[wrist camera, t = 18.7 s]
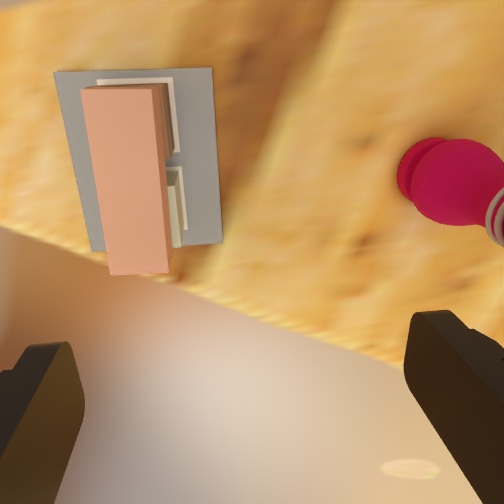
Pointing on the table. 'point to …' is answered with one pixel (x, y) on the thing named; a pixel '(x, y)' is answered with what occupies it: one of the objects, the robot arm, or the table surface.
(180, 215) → the sage cube
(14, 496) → the robot arm
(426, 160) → the pepper mill
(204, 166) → the board
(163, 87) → the walnut cube
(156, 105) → the lintel
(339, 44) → the table surface
